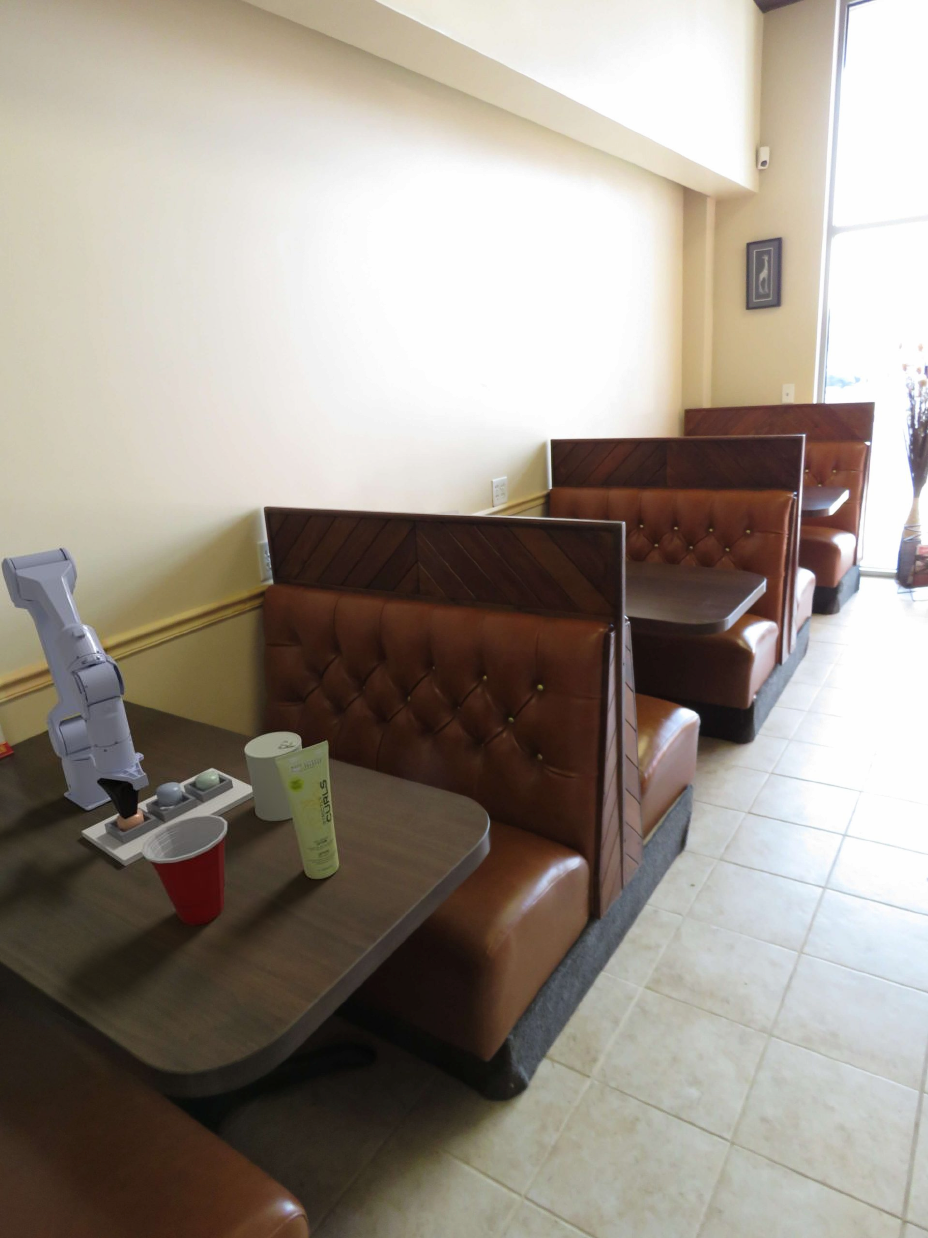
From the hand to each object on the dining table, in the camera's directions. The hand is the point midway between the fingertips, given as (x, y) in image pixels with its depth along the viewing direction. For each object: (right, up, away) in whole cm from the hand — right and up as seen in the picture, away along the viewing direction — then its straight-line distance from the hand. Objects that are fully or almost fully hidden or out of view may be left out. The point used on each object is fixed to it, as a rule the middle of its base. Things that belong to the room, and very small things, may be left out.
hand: (129, 815), depth 119 cm
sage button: (+9, +2, +11) cm, 14 cm away
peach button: (0, -2, +1) cm, 2 cm away
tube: (+33, -5, -11) cm, 35 cm away
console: (+5, -1, +6) cm, 8 cm away
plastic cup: (+18, -8, -18) cm, 27 cm away
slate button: (+4, +1, +5) cm, 7 cm away
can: (+23, 0, +6) cm, 24 cm away
